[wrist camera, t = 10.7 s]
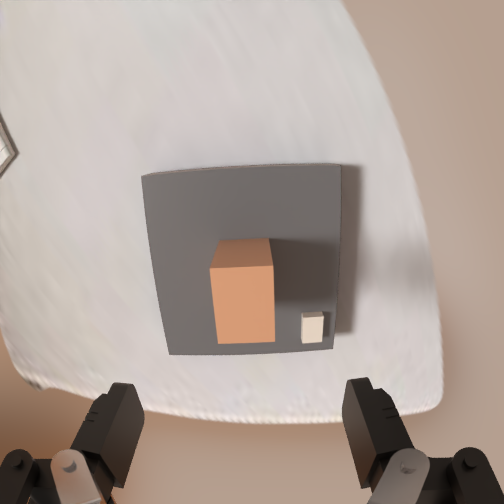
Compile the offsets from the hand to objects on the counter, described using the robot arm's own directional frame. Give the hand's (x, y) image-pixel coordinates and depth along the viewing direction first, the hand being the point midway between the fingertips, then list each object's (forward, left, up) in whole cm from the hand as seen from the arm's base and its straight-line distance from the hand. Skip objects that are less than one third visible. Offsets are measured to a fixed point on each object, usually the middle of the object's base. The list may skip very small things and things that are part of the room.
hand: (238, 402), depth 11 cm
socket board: (0, 0, -16) cm, 16 cm away
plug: (0, 0, -16) cm, 16 cm away
